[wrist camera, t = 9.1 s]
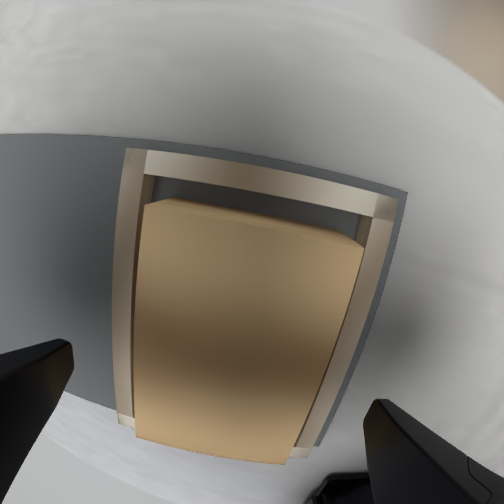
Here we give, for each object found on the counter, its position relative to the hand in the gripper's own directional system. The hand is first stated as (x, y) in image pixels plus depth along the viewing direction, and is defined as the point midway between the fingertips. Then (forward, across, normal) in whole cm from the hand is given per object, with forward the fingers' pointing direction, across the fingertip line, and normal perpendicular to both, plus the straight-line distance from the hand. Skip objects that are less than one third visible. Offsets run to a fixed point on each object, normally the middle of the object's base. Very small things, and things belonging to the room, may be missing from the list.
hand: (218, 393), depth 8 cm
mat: (+5, +5, 0) cm, 7 cm away
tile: (+4, 0, 0) cm, 4 cm away
